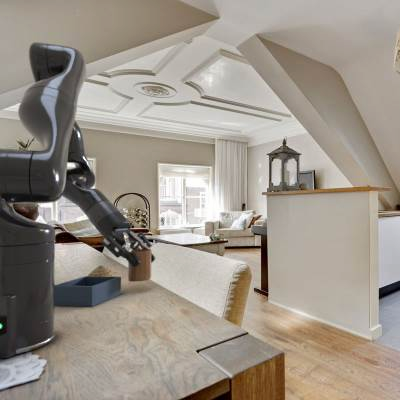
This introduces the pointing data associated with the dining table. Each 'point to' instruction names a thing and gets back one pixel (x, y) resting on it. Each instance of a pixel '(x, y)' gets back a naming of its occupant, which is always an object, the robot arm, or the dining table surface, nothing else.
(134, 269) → the brown cup
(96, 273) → the seashell
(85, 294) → the bin
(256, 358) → the dining table surface
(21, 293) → the robot arm
